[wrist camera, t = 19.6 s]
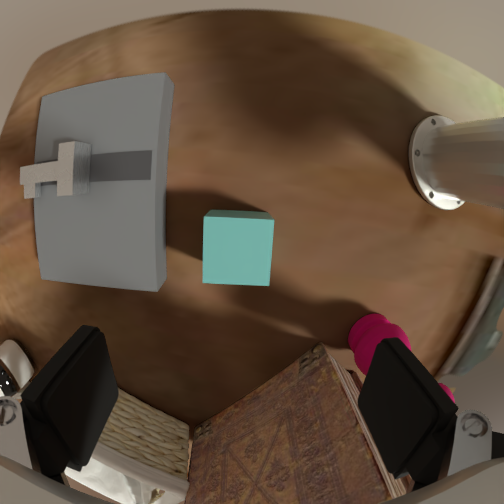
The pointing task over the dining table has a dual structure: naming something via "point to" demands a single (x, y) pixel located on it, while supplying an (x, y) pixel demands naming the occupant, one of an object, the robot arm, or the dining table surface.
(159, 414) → the storage basket
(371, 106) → the dining table surface
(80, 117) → the base
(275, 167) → the dining table surface
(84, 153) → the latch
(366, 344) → the pepper mill
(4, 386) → the spread jar
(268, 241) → the cube block
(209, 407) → the dining table surface
